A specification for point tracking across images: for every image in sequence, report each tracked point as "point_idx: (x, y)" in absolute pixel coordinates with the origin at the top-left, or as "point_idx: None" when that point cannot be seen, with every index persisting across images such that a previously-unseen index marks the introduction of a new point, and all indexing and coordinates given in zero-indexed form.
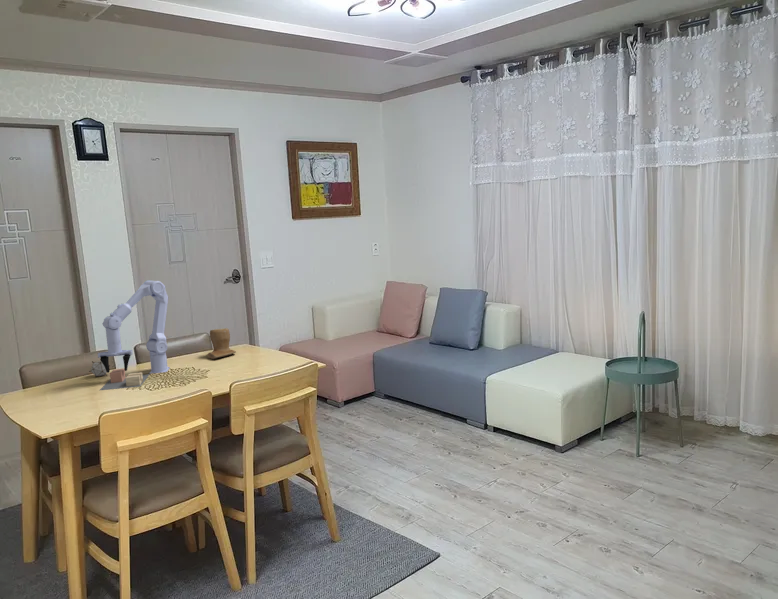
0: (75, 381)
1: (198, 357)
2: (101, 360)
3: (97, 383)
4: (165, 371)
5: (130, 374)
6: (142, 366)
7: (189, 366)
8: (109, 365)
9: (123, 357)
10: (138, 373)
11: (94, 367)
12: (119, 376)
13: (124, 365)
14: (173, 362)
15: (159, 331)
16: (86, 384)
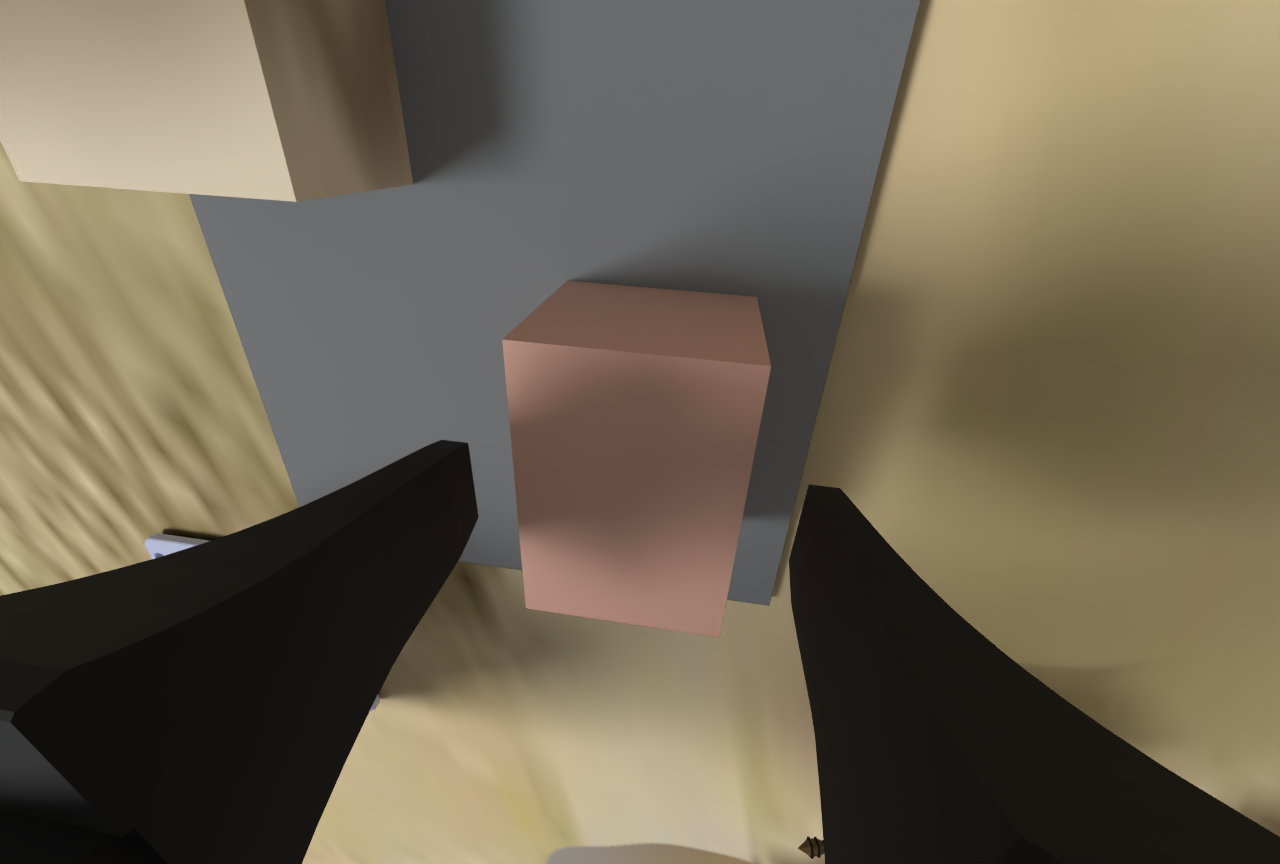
0: (1260, 681)
1: None
2: (1231, 832)
3: (980, 432)
4: (156, 545)
5: (204, 66)
6: (529, 819)
7: None
8: (808, 854)
9: (23, 675)
10: (40, 93)
11: None
12: (575, 314)
13: (372, 500)
14: None
15: None
16: (1165, 454)
